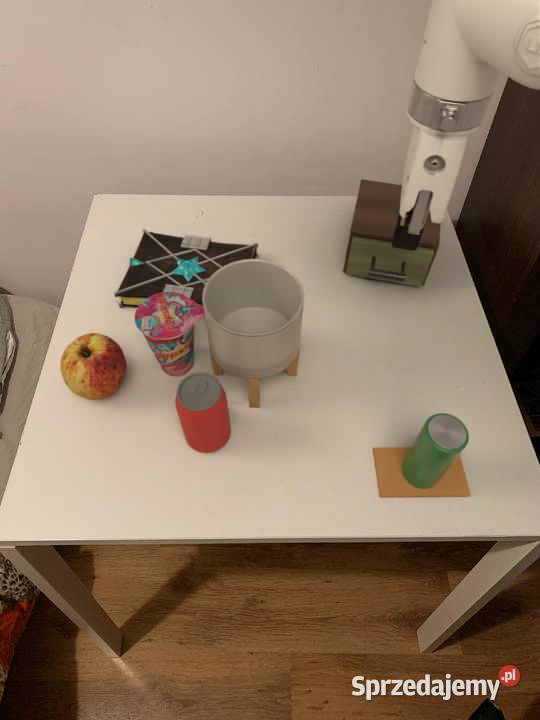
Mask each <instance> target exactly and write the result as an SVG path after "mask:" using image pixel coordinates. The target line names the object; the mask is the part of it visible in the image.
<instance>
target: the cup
mask: <svg viewBox="0 0 540 720" xmlns="http://www.w3.org/2000/svg"><path fill="white" fill-rule="evenodd" d="M203 318H205V314H204V309H203V308H202V307H201V306H200V305H198V304H197V303H196V302H194V301H193V300H191V299H190V298H188V297H187V296H185V295H183V294H180V293H176V292H162V293H158V294H154V295H152V296H150V297H148V298H146V299H145V300H144V301H143V302H142V303H141V304H140V305H139V306H138V307H136V310H135V312H134V322H135V325H136V328H137V329H138V330H139V331H140V332H141V333H142V335H143V336H144V338H145V341H146V343H147V344H148V346H149V348H150V350H151V351H152V353H153V355H154V357H155V359H156V360H157V362H158V363H159V365H160V367H161V368H162V369H161V370H163V372H164V373H165V374H167V375H168V376H171V377H181V376H185V375H186V374H188V373H189V372H190V371H192V369H193V368H194V364H195V325H196V324H197V323H198V322H199V321H201V320H202V319H203Z"/></svg>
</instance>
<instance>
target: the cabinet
mask: <svg viewBox="0 0 540 720" xmlns="http://www.w3.org/2000/svg"><path fill="white" fill-rule="evenodd" d="M401 190H402V184H396V183H390V182H383V181H376V180H369V179H363V178H362V179H360V184H359V188H358V192H357V196H356V197H357V198H356V202H355V207H354V212H353V216H352V220H351V226H350V231H349V236H348V242H347V247H346V253H345V257H344V264H343V268H342V273H344V274H346V270H347V265H348V260H349V254H350V249H351V244H352V239H353V236H356V237H357V236H360V237H366V238H373V239H379V240H385V241H391V242H392V238H393V234H394V230H395V226H396V223H397V219H398V216H399V214H400V202H401ZM441 223H442V222H441ZM441 223H439V224H436V223H432V221H431V215H430V211H429V214H428V216H427V219H426V222H425V227H424V230H423V233H422V235H421V238H420V241H419V244H418V246H422V247H428V248H430V249H434V255H433V257H432V260H431V263H430V265H429V268H428V271H427V273H426V276H425V278H424V281H423V284H422V286H421V287H425V284H426V282H427V279H428V277H429V273H430V271H431V268H432V266H433V263H434V261H435V258H436V255H437V253H438V250H439V248H440V243H441Z"/></svg>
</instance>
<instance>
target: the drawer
mask: <svg viewBox="0 0 540 720" xmlns="http://www.w3.org/2000/svg"><path fill="white" fill-rule="evenodd" d="M433 255H434V249H430V248H428V247H422V246H418V247H417V250H415V251H412V250H406V249H399V248H394V247H392V242H391V241H385V240H379V239H373V238H366V237H360V236H357V237H356V236H353V239H352V244H351V249H350V254H349V260H348V265H347V270H346V273H345V275H349V276H353V277H354V276H355V277H361V278H367V279H373V280H379V281H384V282H389V283H396V284H401V285H408V286H413V287H418V288H421V287H423V286H422V284H423V281H424V278H425V276H426V273H427V271H428V268H429V265H430V263H431V260H432V257H433Z"/></svg>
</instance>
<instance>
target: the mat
mask: <svg viewBox="0 0 540 720" xmlns="http://www.w3.org/2000/svg"><path fill="white" fill-rule="evenodd" d="M410 448H411V446H409V447H407V446H406V447H404V446H401V447H399V446H398V447H392V446H391V447H389V446H388V447H372V452H373V459H374V466H375V467H374V468H375V472H376V479H377V485H378V493H379V494H378V495H379V498H380V499H381V498H382V499H384V498H458V497H462V498H463V497H466V498H467V497H470V496H471V492H470V488H469V484H468V481H467V480H468V479H467V477H466V472H465V468H464V464H463V460H462V457H461V454H460V455H459V456H458V457H457V458H456V460H455V461H454V462H453V463H452V465H451V466H450V467H449V468H448V470H447V471H446V472H445V473H444V475H443V476H442V477H441V478H440V480H439V481H438V482H437V483H436V485H434V486H433V487H431V488H428V489H421V488H417V487H414V486H412V485H411V484H410V483H408V482H407V480H406V479H405V478H404V476H403V474H402V469H401V466H402V462H403V460H404V458H405V456H406V455H407V453H408V451H409V450H410Z"/></svg>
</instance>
